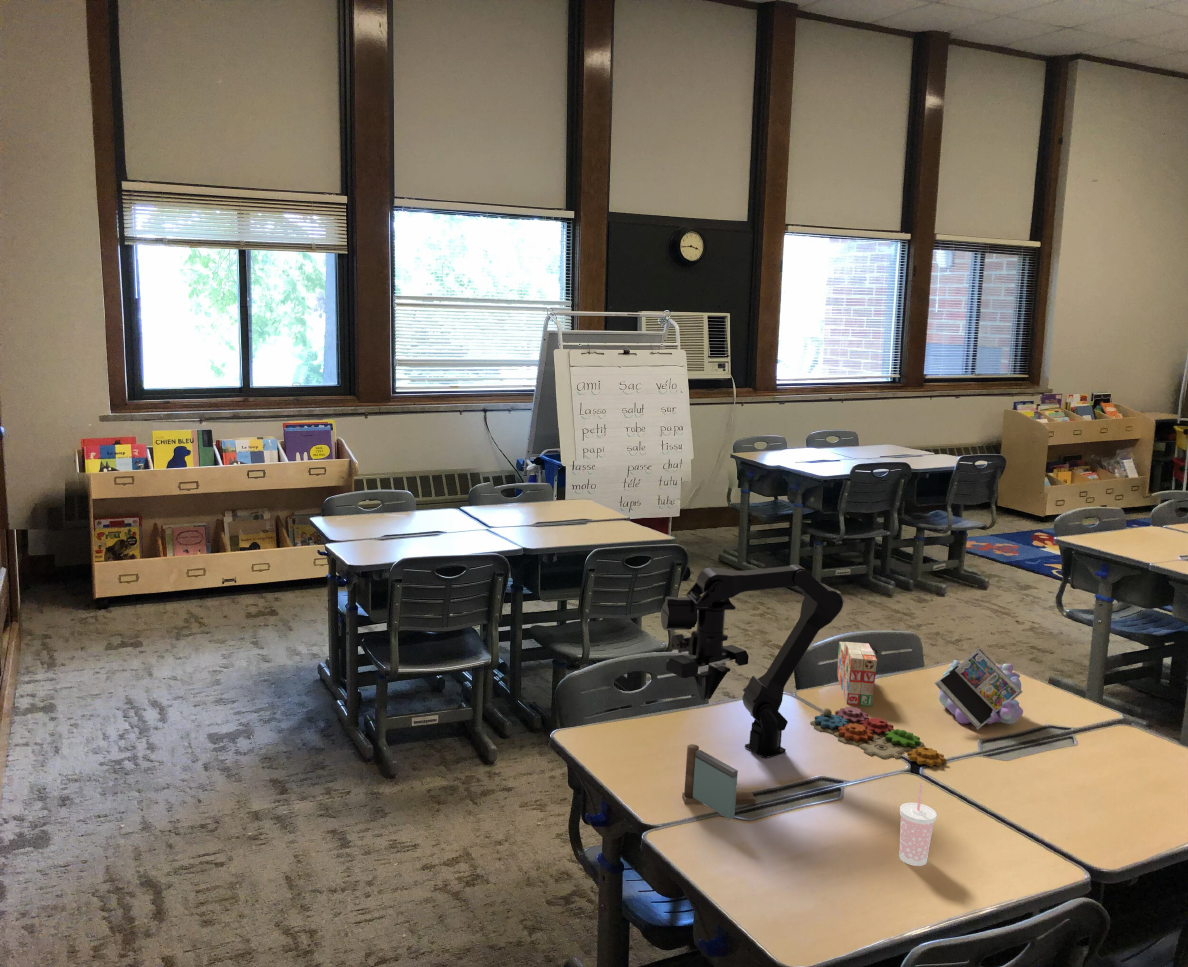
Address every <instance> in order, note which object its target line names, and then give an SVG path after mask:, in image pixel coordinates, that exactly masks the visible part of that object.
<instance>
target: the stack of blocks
mask: <svg viewBox="0 0 1188 967" xmlns="http://www.w3.org/2000/svg"><path fill="white" fill-rule="evenodd" d="M837 652H838V653H837V654H838V656H837V668H836V670H837V671H836V676H837V679H838V683H839V685H840V688H841V690H842V694H843V696H844V700H845V704H846V705H851V706H853V705H854V706H865V707H873V702H874V701H873V700H874V689H875V682H876V670H877V664H878V659H877V657H876V654H875V653H874V650H873V649H872V647H871V646H870V643H867V642H866V643H864V642H851V641H838V650H837Z"/></svg>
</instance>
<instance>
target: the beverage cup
mask: <svg viewBox="0 0 1188 967" xmlns="http://www.w3.org/2000/svg"><path fill="white" fill-rule="evenodd" d="M922 791H923V783H919V788H918V796H917V802H906V803H905V802H904V803H903V804H901V805H900V806H899V814H900V825H899V826H900V830H899V833H900V834H899V859H900V861H902V862H904V863H905V864H908V865H911V866H914V867H921V866H922V867H923V866H924V865H926V864H927V862H928V856H929V852H930V846H931V842H932V841H931V840H932V835H933V830H934V824H935V822H936V821H937V815H938V814H937V811H936V810H934V809H933V808H932V807H930V806H928V805H926V804H923V803H922V793H923V792H922Z"/></svg>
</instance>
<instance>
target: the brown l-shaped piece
mask: <svg viewBox="0 0 1188 967" xmlns="http://www.w3.org/2000/svg"><path fill="white" fill-rule="evenodd" d="M698 750H700V747H699V745H697V744H694V743H693V744H692V743H691V744H688V745H687V749H686V762H685V776H684V777H685V778H684V792H682V795H681V797H682V801H683V803H684V804H685V805H704V804H703V803H701V802H700V801H698V800H697V799H695V798H693V784H694V770H695V755H696V751H698ZM740 804H741V805H745V804H746V805H748V804H749V805H755V804H756V797H755V796H754V794H753V793H752V792H738V791H736V801H735V805H740Z"/></svg>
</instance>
